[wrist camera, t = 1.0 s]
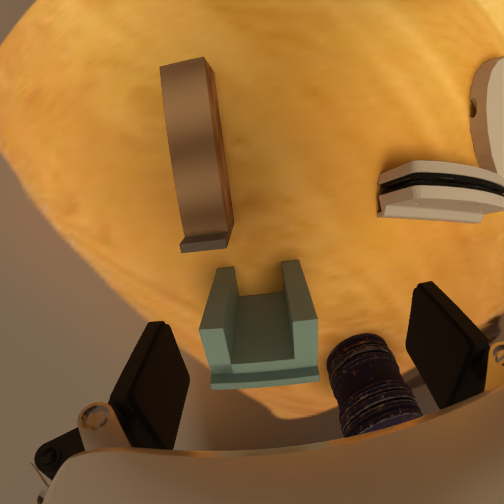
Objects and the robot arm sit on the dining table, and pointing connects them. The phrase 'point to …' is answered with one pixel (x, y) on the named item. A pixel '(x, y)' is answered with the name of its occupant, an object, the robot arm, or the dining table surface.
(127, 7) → the dining table surface
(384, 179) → the grey layered block
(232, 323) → the u-shaped channel piece
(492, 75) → the ashtray
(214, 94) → the brown wooden block
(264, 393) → the dining table surface
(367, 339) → the storage jar
